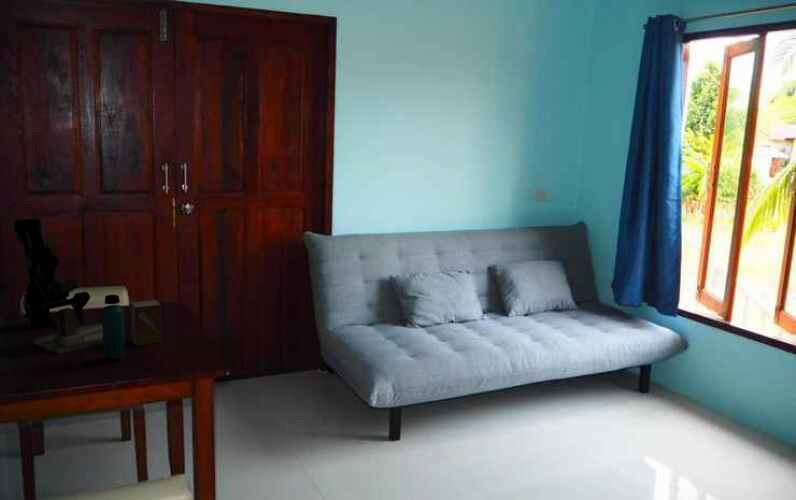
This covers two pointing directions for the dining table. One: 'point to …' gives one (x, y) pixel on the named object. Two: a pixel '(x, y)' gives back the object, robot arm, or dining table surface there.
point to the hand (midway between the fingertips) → (70, 326)
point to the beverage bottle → (113, 328)
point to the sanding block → (67, 330)
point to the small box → (146, 322)
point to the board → (91, 337)
